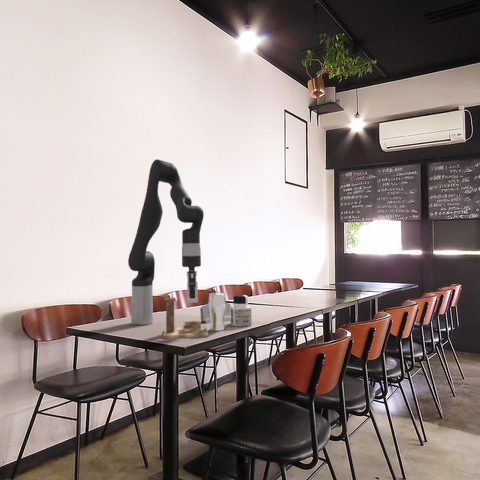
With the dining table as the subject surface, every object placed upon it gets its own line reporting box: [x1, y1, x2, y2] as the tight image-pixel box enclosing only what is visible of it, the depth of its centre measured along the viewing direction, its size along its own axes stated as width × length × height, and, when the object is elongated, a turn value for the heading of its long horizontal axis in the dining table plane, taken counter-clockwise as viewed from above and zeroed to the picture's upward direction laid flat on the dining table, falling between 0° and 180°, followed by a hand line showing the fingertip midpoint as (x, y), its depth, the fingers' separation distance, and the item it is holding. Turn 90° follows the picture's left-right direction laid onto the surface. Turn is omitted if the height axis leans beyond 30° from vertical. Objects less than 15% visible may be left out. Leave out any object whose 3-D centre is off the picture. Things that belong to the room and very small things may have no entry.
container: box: [230, 294, 252, 327], centre depth 184 cm, size 8×8×13 cm
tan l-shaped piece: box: [162, 297, 209, 339], centre depth 165 cm, size 17×16×14 cm
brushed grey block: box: [186, 281, 199, 304], centre depth 166 cm, size 4×4×8 cm
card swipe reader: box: [199, 302, 232, 324], centre depth 195 cm, size 17×5×10 cm, turn 124°
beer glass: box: [208, 292, 227, 332], centre depth 172 cm, size 7×7×15 cm
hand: (192, 297), depth 166 cm, fingers closed on brushed grey block, 4 cm apart
